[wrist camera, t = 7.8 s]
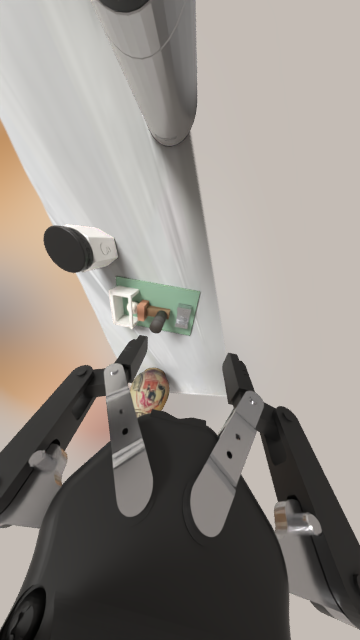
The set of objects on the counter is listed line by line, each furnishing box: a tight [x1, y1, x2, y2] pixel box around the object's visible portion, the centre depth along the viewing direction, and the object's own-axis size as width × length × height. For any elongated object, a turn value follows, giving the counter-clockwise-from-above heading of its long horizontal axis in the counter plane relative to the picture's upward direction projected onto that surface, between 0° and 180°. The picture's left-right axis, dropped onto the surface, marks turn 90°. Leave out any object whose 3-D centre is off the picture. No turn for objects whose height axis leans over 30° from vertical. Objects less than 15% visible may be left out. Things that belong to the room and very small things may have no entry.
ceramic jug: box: [130, 368, 169, 418], centre depth 48 cm, size 17×15×30 cm
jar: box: [44, 224, 118, 273], centre depth 31 cm, size 9×8×12 cm
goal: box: [109, 285, 139, 329], centre depth 41 cm, size 11×6×6 cm, turn 172°
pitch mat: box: [116, 276, 200, 336], centre depth 43 cm, size 16×25×1 cm, turn 82°
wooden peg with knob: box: [137, 300, 171, 333], centre depth 38 cm, size 5×9×10 cm, turn 82°
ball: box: [127, 301, 139, 314], centre depth 41 cm, size 4×4×4 cm
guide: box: [175, 303, 192, 329], centre depth 41 cm, size 7×4×3 cm, turn 172°
